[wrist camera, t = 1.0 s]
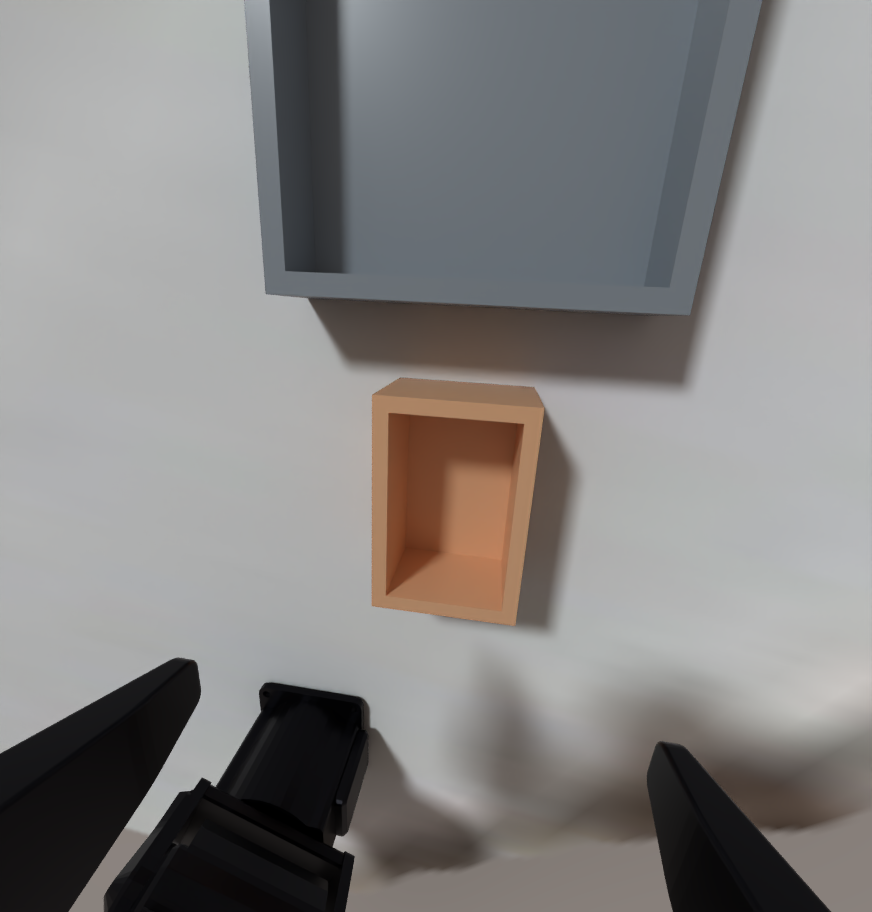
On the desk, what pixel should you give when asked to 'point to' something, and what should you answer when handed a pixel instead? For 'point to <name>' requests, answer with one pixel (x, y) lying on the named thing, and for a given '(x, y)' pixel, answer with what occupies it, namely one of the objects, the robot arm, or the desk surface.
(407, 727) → the desk surface
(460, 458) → the small crate
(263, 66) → the big crate
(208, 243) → the desk surface
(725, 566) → the desk surface
